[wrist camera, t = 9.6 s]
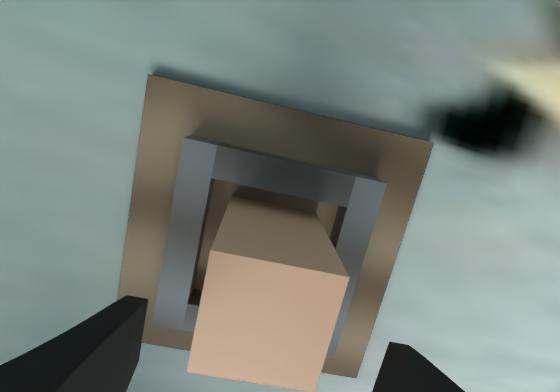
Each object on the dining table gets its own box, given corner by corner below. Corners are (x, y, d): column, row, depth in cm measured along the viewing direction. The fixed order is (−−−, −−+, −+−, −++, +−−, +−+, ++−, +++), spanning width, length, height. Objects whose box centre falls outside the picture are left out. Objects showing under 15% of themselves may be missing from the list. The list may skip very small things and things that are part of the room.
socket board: (354, 371, 21) (363, 399, 19) (116, 331, 19) (99, 356, 17) (429, 141, 17) (450, 145, 15) (151, 75, 16) (136, 70, 14)
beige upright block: (296, 289, 19) (314, 392, 12) (215, 274, 18) (186, 372, 11) (316, 213, 18) (349, 277, 11) (231, 195, 17) (210, 250, 10)
